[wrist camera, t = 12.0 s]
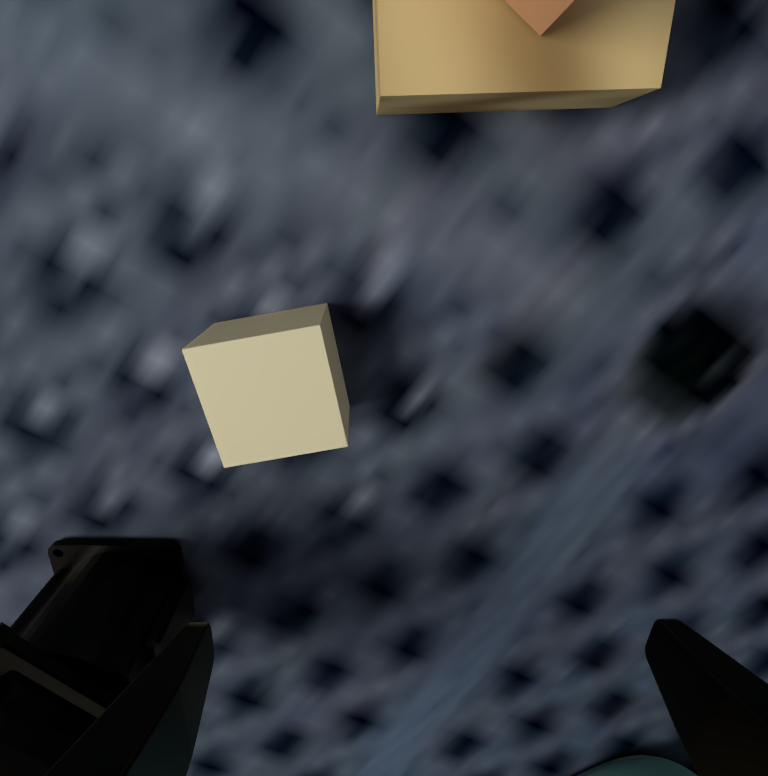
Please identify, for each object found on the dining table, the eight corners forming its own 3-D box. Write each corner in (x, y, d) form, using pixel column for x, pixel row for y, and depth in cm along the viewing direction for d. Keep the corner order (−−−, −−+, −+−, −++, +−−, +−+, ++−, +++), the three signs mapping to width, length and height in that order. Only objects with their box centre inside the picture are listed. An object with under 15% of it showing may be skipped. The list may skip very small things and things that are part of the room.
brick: (247, 422, 21) (224, 467, 18) (215, 322, 20) (181, 349, 16) (349, 404, 21) (347, 446, 18) (327, 302, 19) (319, 324, 16)
